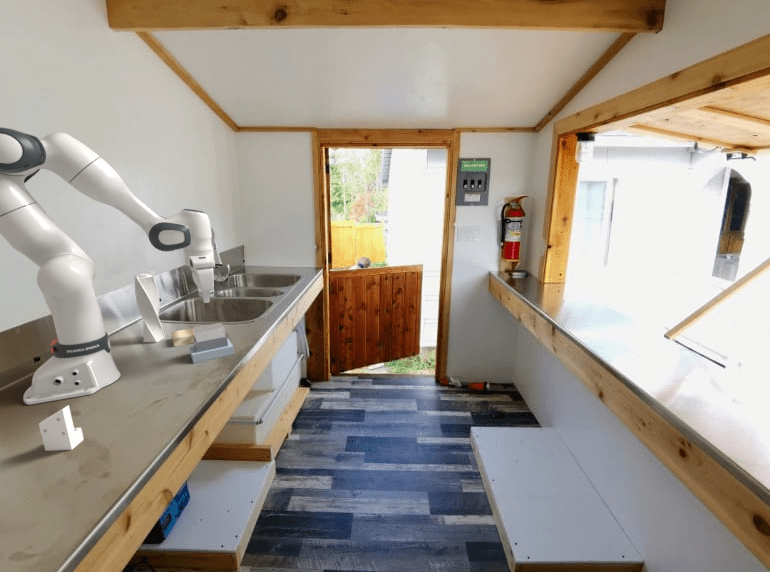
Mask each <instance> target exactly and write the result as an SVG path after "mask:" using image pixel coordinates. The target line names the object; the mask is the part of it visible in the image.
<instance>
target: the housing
mask: <svg viewBox="0 0 770 572" xmlns="http://www.w3.org/2000/svg"><path fill="white" fill-rule="evenodd" d="M192 328H193V332H194V337H193V342H194V343H193V345H194V347H195V350H196V352H202V351H206V350H211V349H216V348H220V347H225V346H228V342H227V339H228V337H227V334H226V328H225V326H224V325H223V323H222V322H216V323H211V324H206V325H205V324H204V325H200V326H195V327H192Z"/></svg>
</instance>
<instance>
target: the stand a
mask: <svg viewBox="0 0 770 572" xmlns="http://www.w3.org/2000/svg"><path fill="white" fill-rule="evenodd" d="M193 328H194V327H192V328H187V329H181V330H176V331H170V334H171V340H172V343H173V347H174V348H175V346H176V347H181V346H185V345H189V344H194V342H193V337H194V332H193ZM180 345H181V346H180Z"/></svg>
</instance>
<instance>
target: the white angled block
mask: <svg viewBox="0 0 770 572" xmlns="http://www.w3.org/2000/svg"><path fill="white" fill-rule="evenodd" d="M38 427H39V431H40V434H41V439H42V443H43V448H44V450H45V452H46V451H48V452H49V451H69V450H70V451H71V450H73V449H74V448H76V447H77V446H78V445H79V444H81V442H83V441H84V439H85V438H84V434H83V429H82V427H75V426H74V422H73V418H72V413H71V409H70V405H69V404H68V405H66V406H65V407H63V408H61V409H60V410H58V411H56V412H55V413H53V414H52V415H49V416H48V417H46V418H45V419H43V420H42V421H41V422H39V423H38Z"/></svg>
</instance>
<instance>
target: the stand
mask: <svg viewBox="0 0 770 572" xmlns="http://www.w3.org/2000/svg"><path fill="white" fill-rule="evenodd" d="M227 342H228V346H225V347H220V348H216V349H211V350H206V351H202V352H196V350H195V347H194V344H192V345H190V346H188V348H189V350H188V351H189V355H190V357H191V360H192V362H193V364H198V363H201V362H206V360H207V361H211V360H215V359H220V358H224V357H227V356H228V355H229V356H233V355H235V347H234V345H233V343H232V342H231V341H230V339H229V338H227ZM232 354H233V355H232ZM223 356H224V357H223ZM219 357H220V358H219ZM214 358H215V359H214ZM210 359H211V360H210Z"/></svg>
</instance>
